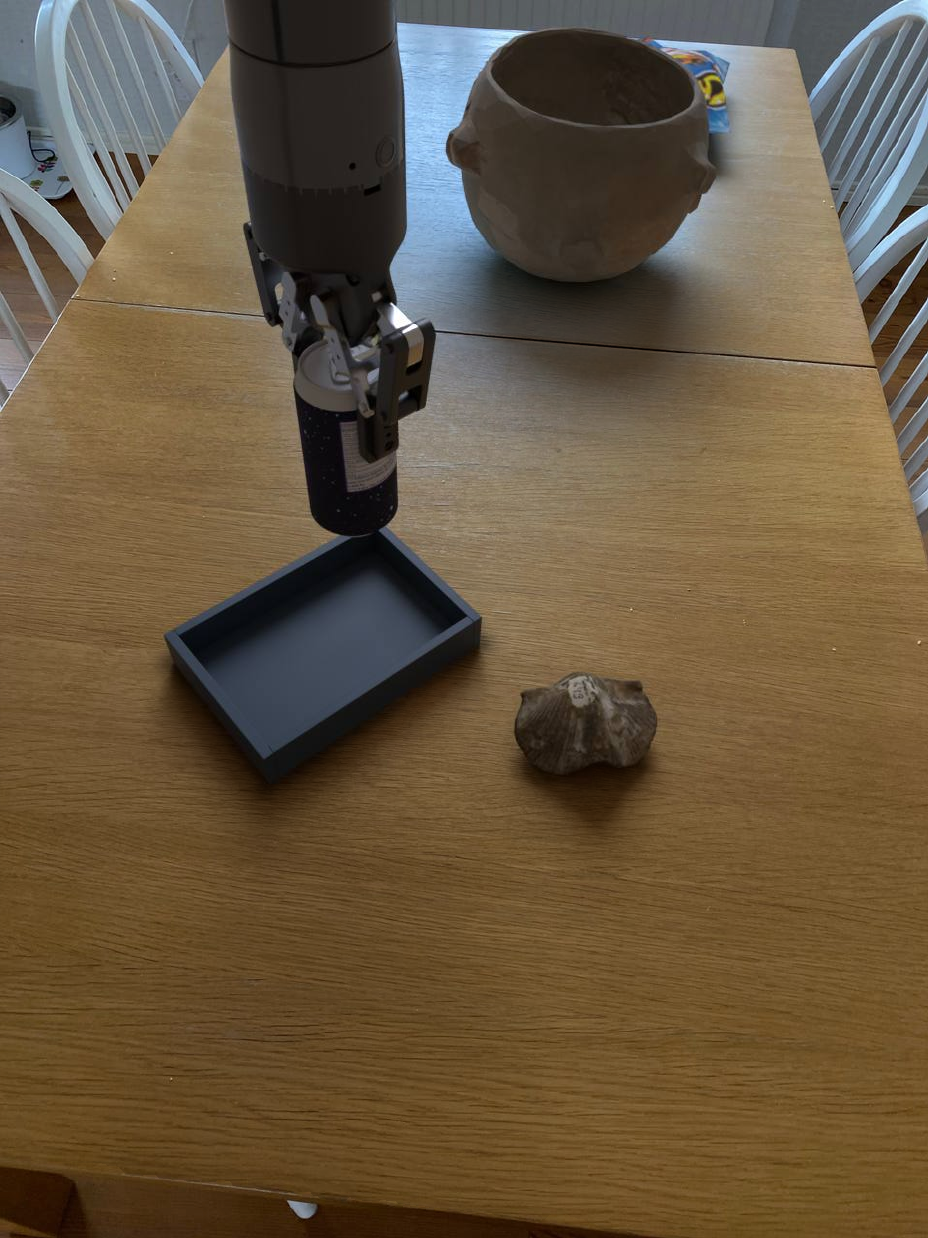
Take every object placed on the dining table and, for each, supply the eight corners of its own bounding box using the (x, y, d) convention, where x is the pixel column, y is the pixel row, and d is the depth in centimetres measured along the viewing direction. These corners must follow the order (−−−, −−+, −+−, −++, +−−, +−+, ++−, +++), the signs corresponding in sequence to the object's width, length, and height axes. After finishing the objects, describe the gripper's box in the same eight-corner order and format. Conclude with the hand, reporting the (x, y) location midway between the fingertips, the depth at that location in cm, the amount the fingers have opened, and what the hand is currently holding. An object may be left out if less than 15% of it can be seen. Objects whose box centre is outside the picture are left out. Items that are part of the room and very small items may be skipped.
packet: (593, 157, 124) (603, 88, 118) (603, 77, 139) (613, 11, 132) (726, 172, 123) (744, 103, 117) (723, 90, 138) (739, 24, 131)
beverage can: (392, 479, 65) (386, 328, 55) (403, 541, 61) (399, 391, 52) (308, 487, 64) (287, 335, 55) (314, 550, 61) (293, 400, 51)
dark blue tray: (270, 784, 68) (263, 759, 65) (173, 662, 74) (163, 634, 71) (480, 644, 76) (482, 617, 73) (376, 544, 82) (375, 515, 79)
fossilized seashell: (659, 678, 72) (526, 670, 74) (659, 671, 65) (513, 663, 67) (654, 780, 71) (520, 769, 73) (654, 783, 64) (506, 771, 66)
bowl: (691, 205, 118) (733, 25, 102) (683, 345, 101) (731, 155, 85) (473, 178, 120) (480, -2, 104) (428, 310, 103) (428, 119, 87)
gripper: (169, 102, 45) (228, 389, 59) (347, 236, 39) (368, 524, 52) (302, 61, 48) (329, 343, 62) (488, 179, 42) (473, 465, 55)
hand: (347, 425), depth 57 cm, fingers closed on beverage can, 5 cm apart
